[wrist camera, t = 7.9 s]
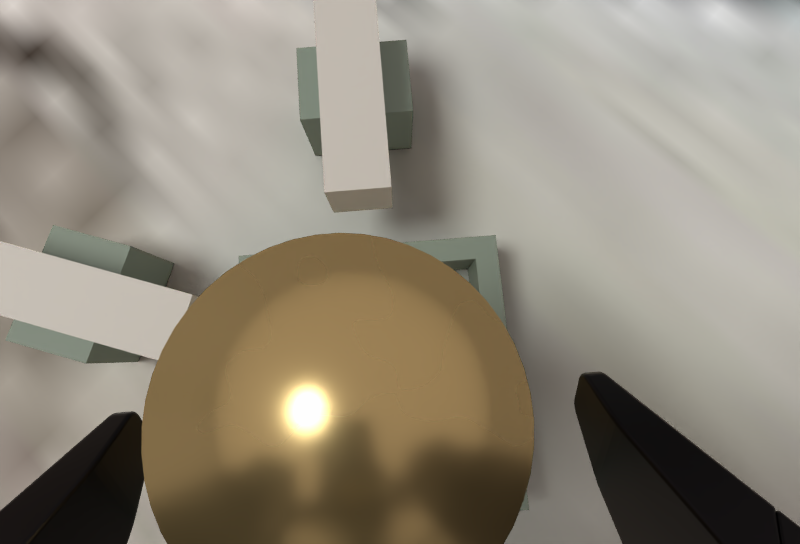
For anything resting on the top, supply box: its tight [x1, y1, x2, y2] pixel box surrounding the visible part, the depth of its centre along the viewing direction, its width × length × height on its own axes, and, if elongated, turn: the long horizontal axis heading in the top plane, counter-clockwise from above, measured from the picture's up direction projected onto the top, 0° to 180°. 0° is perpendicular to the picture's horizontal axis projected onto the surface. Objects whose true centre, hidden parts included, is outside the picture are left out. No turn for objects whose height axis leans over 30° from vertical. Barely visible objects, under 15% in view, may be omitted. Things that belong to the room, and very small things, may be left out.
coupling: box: [141, 233, 534, 544], centre depth 12 cm, size 5×5×12 cm
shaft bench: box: [0, 0, 529, 510], centre depth 16 cm, size 18×17×5 cm
